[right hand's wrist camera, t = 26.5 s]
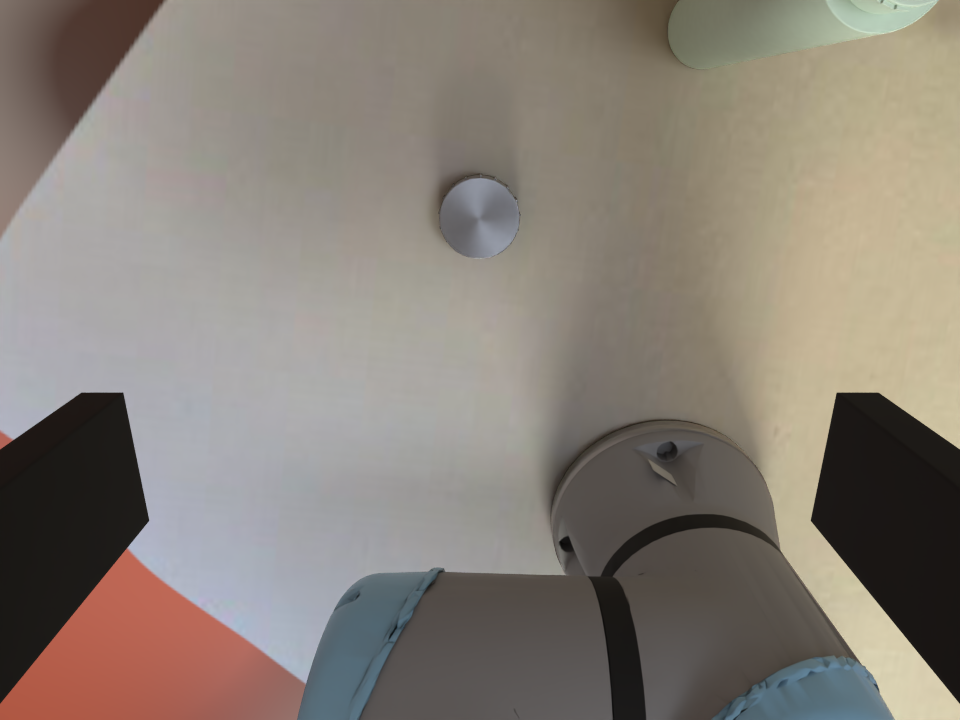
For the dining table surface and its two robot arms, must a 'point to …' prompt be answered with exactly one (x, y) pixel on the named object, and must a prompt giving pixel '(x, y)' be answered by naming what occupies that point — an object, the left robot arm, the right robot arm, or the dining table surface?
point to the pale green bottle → (778, 26)
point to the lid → (479, 216)
